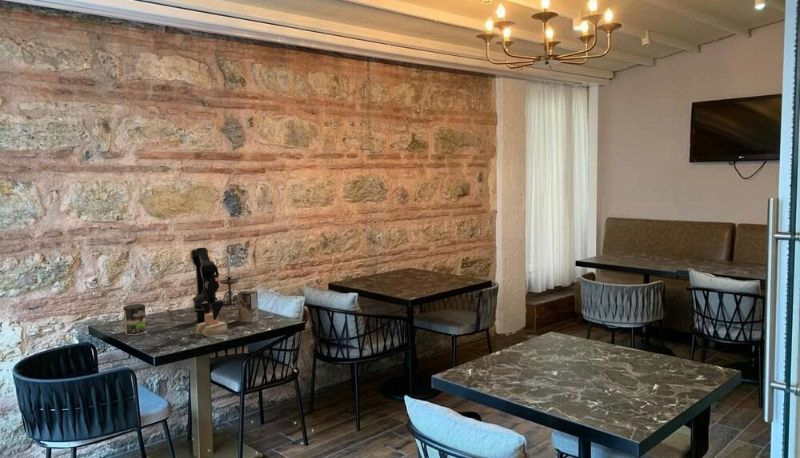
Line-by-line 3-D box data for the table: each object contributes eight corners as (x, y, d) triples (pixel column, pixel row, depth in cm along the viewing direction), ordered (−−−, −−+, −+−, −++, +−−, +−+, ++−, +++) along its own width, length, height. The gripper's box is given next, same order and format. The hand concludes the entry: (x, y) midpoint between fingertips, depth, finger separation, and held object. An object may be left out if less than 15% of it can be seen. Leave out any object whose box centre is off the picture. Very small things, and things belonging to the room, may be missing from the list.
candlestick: (234, 305, 354) (232, 249, 350) (218, 305, 356) (215, 249, 352) (242, 301, 365) (240, 247, 361) (226, 301, 367) (223, 246, 363)
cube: (204, 323, 297) (204, 313, 296) (214, 321, 300) (213, 312, 300) (209, 325, 293) (208, 315, 292) (218, 323, 296) (218, 314, 296)
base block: (196, 333, 296) (195, 324, 295) (214, 328, 305) (214, 319, 304) (208, 337, 289) (208, 327, 289) (227, 332, 298) (226, 322, 297)
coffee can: (151, 331, 300) (149, 305, 298) (132, 336, 291) (131, 309, 290) (139, 329, 305) (137, 302, 304) (120, 333, 296) (118, 307, 295)
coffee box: (259, 319, 320) (258, 291, 319) (252, 322, 314) (251, 293, 313) (245, 318, 324) (244, 290, 322) (238, 321, 318) (237, 292, 316)
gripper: (186, 288, 296) (188, 317, 297) (202, 293, 282) (203, 324, 284) (207, 284, 303) (208, 313, 305) (223, 289, 290) (225, 320, 291)
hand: (210, 318), depth 296 cm, fingers open, 9 cm apart
